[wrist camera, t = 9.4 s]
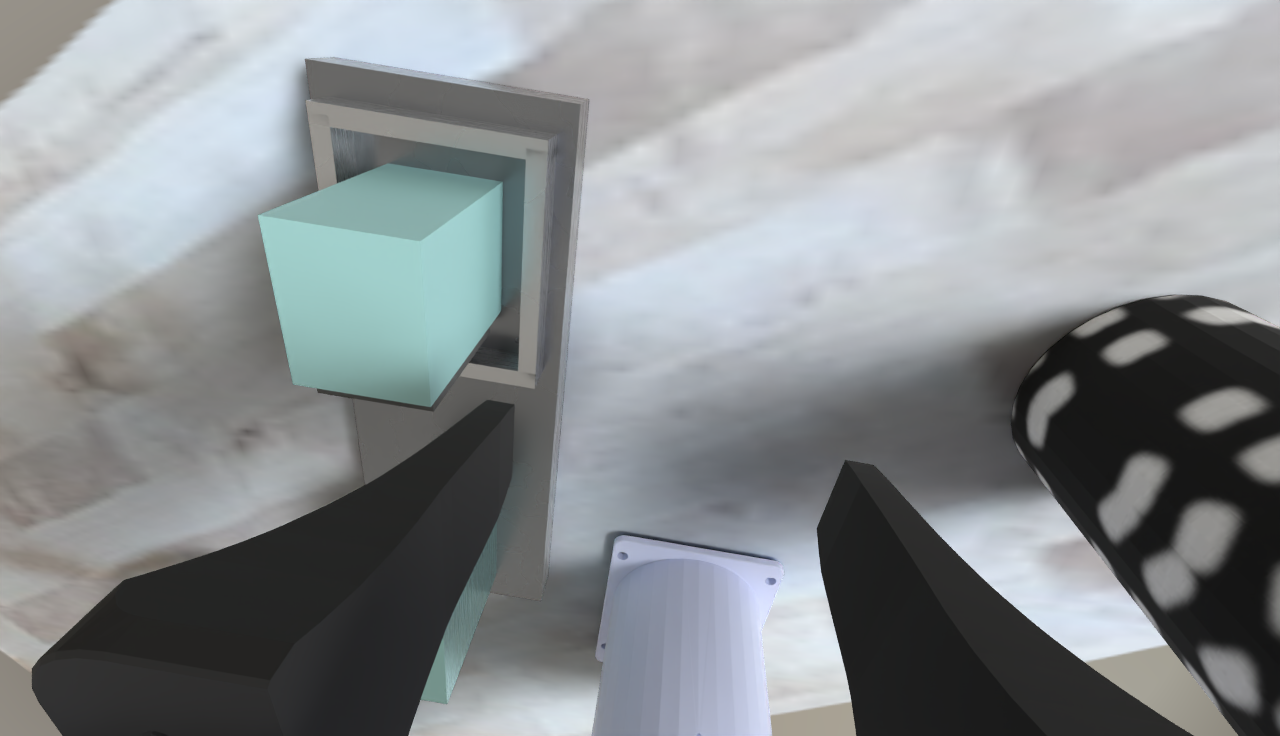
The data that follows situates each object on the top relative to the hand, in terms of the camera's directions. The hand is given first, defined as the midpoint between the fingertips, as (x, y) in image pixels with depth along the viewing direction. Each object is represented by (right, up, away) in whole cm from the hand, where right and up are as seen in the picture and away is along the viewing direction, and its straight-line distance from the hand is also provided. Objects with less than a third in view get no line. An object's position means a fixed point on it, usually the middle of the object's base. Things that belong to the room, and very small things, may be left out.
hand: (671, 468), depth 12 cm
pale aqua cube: (-7, +6, +6) cm, 11 cm away
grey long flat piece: (-8, +2, +11) cm, 13 cm away
